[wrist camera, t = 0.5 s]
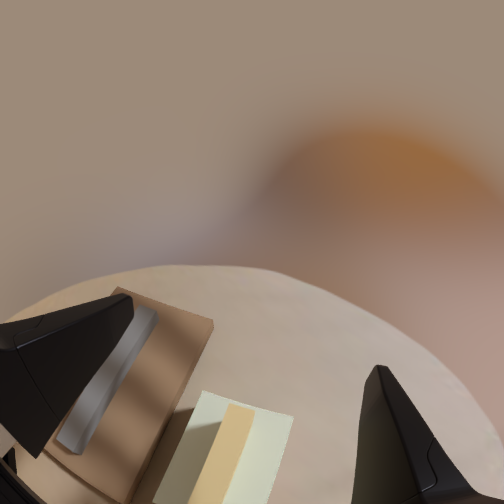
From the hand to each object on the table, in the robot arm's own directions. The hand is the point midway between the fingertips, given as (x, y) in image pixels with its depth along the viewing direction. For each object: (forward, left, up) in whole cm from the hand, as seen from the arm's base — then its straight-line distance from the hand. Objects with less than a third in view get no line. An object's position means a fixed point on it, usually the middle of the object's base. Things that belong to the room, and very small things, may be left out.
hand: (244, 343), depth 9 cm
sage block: (-3, 0, -16) cm, 16 cm away
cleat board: (0, +12, -16) cm, 20 cm away
